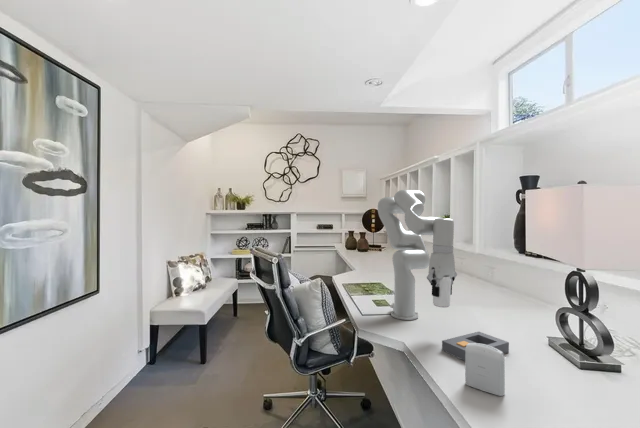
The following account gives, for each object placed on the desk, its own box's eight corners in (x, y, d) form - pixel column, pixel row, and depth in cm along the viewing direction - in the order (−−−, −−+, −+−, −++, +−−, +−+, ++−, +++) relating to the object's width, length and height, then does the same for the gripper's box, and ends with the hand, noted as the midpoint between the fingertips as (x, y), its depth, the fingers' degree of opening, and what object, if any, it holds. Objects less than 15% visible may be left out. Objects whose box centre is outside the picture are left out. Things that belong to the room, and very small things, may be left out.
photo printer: (462, 385, 97) (463, 342, 96) (468, 379, 100) (468, 338, 100) (502, 398, 90) (502, 352, 89) (506, 392, 93) (507, 347, 93)
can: (439, 308, 128) (440, 277, 128) (429, 303, 135) (430, 273, 134) (453, 307, 130) (454, 276, 130) (443, 302, 136) (444, 272, 136)
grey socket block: (442, 350, 121) (442, 339, 121) (478, 340, 130) (478, 330, 130) (471, 363, 110) (471, 351, 110) (508, 352, 119) (508, 341, 119)
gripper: (450, 247, 139) (449, 290, 140) (419, 249, 131) (418, 295, 131) (466, 249, 132) (464, 294, 133) (434, 252, 124) (433, 300, 125)
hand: (441, 294), depth 132 cm, fingers closed on can, 6 cm apart
